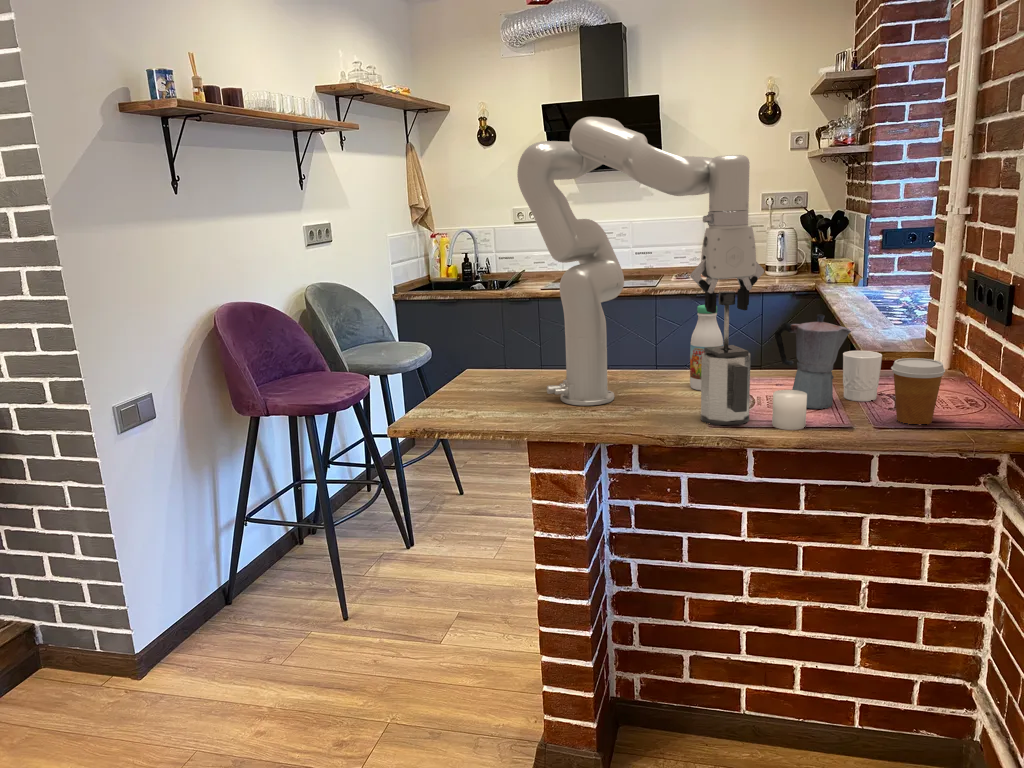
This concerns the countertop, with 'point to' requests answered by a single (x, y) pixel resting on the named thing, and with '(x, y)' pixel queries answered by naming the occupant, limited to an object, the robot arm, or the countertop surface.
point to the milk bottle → (702, 342)
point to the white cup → (861, 375)
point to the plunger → (726, 314)
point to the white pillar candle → (789, 409)
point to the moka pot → (814, 358)
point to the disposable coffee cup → (916, 389)
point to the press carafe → (725, 385)
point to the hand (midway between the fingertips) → (726, 309)
